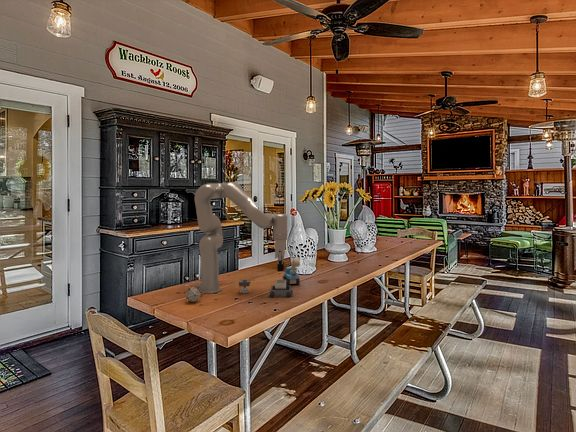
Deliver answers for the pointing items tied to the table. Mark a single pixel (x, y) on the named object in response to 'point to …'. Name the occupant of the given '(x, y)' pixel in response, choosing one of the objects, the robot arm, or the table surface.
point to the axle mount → (244, 290)
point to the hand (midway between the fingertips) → (280, 269)
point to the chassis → (280, 292)
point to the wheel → (244, 283)
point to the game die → (193, 294)
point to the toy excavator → (292, 273)
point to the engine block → (280, 284)
